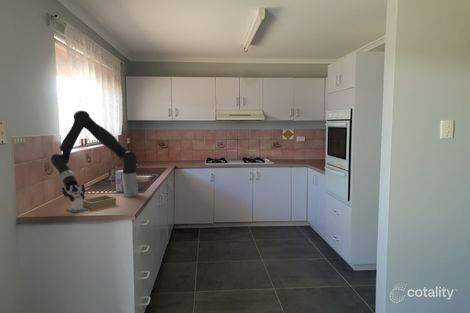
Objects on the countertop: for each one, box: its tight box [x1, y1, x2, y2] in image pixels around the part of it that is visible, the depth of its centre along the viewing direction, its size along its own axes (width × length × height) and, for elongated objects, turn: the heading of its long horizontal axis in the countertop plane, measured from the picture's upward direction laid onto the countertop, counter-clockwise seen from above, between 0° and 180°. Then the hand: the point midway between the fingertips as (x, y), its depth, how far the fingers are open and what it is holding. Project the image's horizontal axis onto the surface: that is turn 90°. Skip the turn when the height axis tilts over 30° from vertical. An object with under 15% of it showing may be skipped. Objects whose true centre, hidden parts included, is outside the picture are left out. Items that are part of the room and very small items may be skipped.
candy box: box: [114, 169, 124, 193], centre depth 266 cm, size 14×6×16 cm, turn 164°
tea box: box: [71, 194, 83, 210], centre depth 208 cm, size 5×5×8 cm
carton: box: [83, 194, 120, 212], centre depth 219 cm, size 17×22×4 cm
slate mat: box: [66, 207, 90, 214], centre depth 208 cm, size 9×12×1 cm
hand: (78, 199), depth 207 cm, fingers open, 6 cm apart
